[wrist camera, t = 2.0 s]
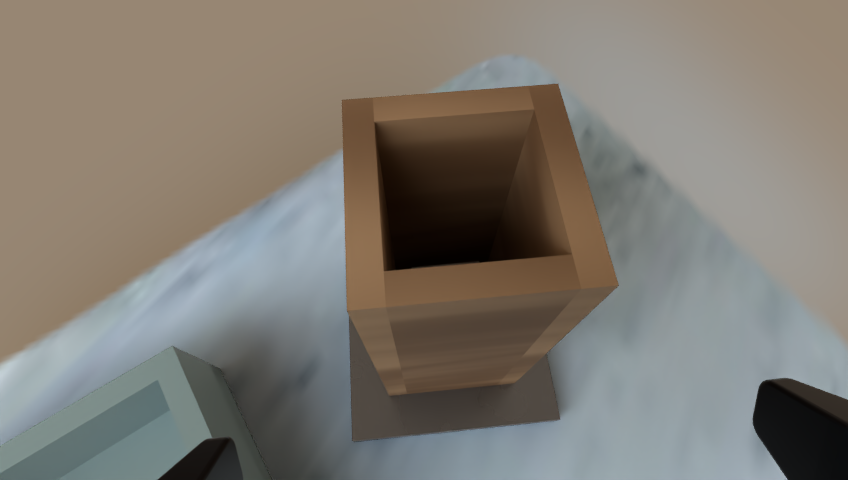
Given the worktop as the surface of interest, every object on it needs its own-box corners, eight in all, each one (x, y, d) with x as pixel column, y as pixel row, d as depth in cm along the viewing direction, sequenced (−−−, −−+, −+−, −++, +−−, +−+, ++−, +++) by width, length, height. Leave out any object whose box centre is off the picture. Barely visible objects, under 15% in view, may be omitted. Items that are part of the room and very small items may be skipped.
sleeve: (514, 383, 18) (618, 285, 9) (389, 396, 18) (347, 311, 8) (494, 267, 21) (557, 83, 11) (382, 277, 20) (341, 99, 11)
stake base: (556, 420, 18) (594, 407, 14) (354, 441, 18) (333, 434, 14) (518, 240, 22) (540, 187, 18) (349, 255, 22) (331, 205, 17)
